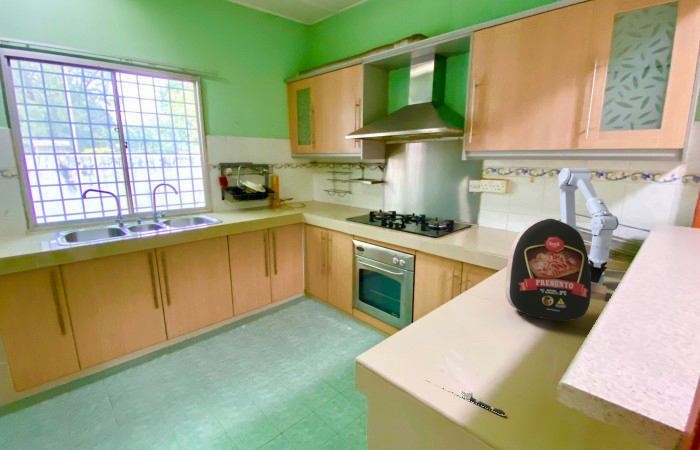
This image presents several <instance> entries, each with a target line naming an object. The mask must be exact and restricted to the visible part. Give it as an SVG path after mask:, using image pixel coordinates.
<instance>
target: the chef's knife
mask: <svg viewBox="0 0 700 450" xmlns="http://www.w3.org/2000/svg"><path fill="white" fill-rule="evenodd" d="M462 393H463V394H464V395H463V394H462ZM462 393H461V394H462V395H463V396H464V398H465V397H466V399H467V400H470V401H472V402H474V403H477V404H479V405H482V406H484V407H486V408H488V409H490V410H493V411H495V412H497V413H499V414H503V415H505V414H506V412H504V410H502V409H499V408H495V407H493V406H491V405H489V404H487V403H485V402H483V401H481V400H479V399H476V398H474V397H473V392H472V393H467V394H466V393H465V392H463V391H462ZM463 396H462V397H463ZM471 396H472V397H471ZM467 400H466V401H467ZM470 401H469V402H470ZM472 402H471V403H472ZM474 403H473V404H474Z"/></svg>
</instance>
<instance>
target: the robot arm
mask: <svg viewBox="0 0 700 450" xmlns="http://www.w3.org/2000/svg"><path fill="white" fill-rule="evenodd" d="M557 177H558V189H559V203H560V204H559V206H560V209H559V210H560V221H561V222H563V223H566V224H568V225H570V226H571V227H573V228H574V229H576V230H577V231H578V232H579V234H580V235H581V237H582V239H583V241H584V242H585V240H584V238H583V233H582V231H581V230H580V229H579V228H577V221H576V197H575V196H576V194H575V192H576V191H577V189H579V191H580V192H581V194H582V195H583V197H584V199H585V200H586V202H585V207H586V210H587V212H588V214H589V216H590V218H591V221H590V222H589V223H590V227H591V234H592V238H591V244H590V250H589V255H588V259H589V268H590V275H591V282H594V283H598V282H599V280H600V278H601V275H602V273H603V272H605V271H606V270H607V268H608V267H607V266H606V265H607V264H608V262H610V263H611V262H613V259H612V258H609V257H610V250H611V245H612V239H613V233H614V231H615V230H616V229H618V227H619V223H620V222H619V218H618V217H617V216H616V215H614V214H613V213H611V212H610V211H609V209H608V207H607V205H606V203H605V202H604V199H602V198H599V197H598V196H597V194H596V191H595V189H594V186H593V184H592V183H593V182H592V180H591V179H592V177H593V174H592V173H591V170H590V169H589V168H588V167H579V168H578V167H574V168H573V167H572V168H570V167H569V168H568V167H563V168H562V169H561V170H560V172H559V174H558V175H557Z"/></svg>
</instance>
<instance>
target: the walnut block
mask: <svg viewBox="0 0 700 450" xmlns="http://www.w3.org/2000/svg"><path fill="white" fill-rule="evenodd" d="M606 296H607V285H598V284H593V283H591V297H590V299H593V300H597V301H601V300H604V301H603V302H605V301H606Z"/></svg>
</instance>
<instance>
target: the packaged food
mask: <svg viewBox="0 0 700 450" xmlns="http://www.w3.org/2000/svg"><path fill="white" fill-rule="evenodd" d="M582 237H583V236H582ZM582 237H581V235H580V234H579V232H578V231H577V230H576V229H574V228H573V227H571V226H570V225H568V224H566V223H563V222H561V220H558V219H555V218H544V219H541V220H537V221H535V222H533V223H531V224H529V225H528V226H527V227H525V228H524V229H523V230H521V231H520V232H519V233H518V235H517V236H516V238H515V240H514V242H513V243H512V246H511V248H510V251H509V255H508V259H507V265H506V274H505V289H504V294H505V298H506V301H507V302H508V304H509V305H510V306H511V307H512V308H514V309H515V310H518V311H519V312H521V313H523V314H526V315H528V316H531V317H536V318H538V319H539V318H540V319H545V320H550V321H556V322H557V321H574V320H577V319H578V320H579V319H580V318H582V317H584V316H585V314H586V313H587V312H588V310H589V308H590V303H591V298H590V297H591V275H590V268H589V263H590V262H589V255H588V251H587V247H586V245H585V240H584V238H583V239H582ZM583 240H584V241H583Z"/></svg>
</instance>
